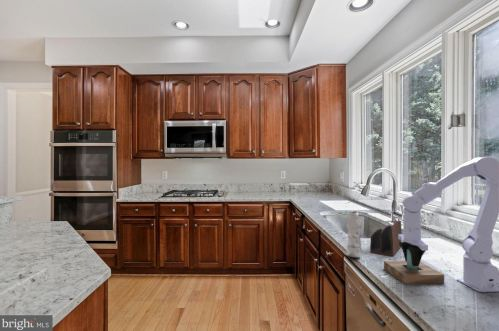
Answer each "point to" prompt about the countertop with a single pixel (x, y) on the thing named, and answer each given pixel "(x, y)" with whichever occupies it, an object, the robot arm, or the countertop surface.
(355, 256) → the plastic bottle
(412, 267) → the peg
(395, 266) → the socket block
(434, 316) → the countertop surface
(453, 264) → the countertop surface
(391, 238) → the letter holder
